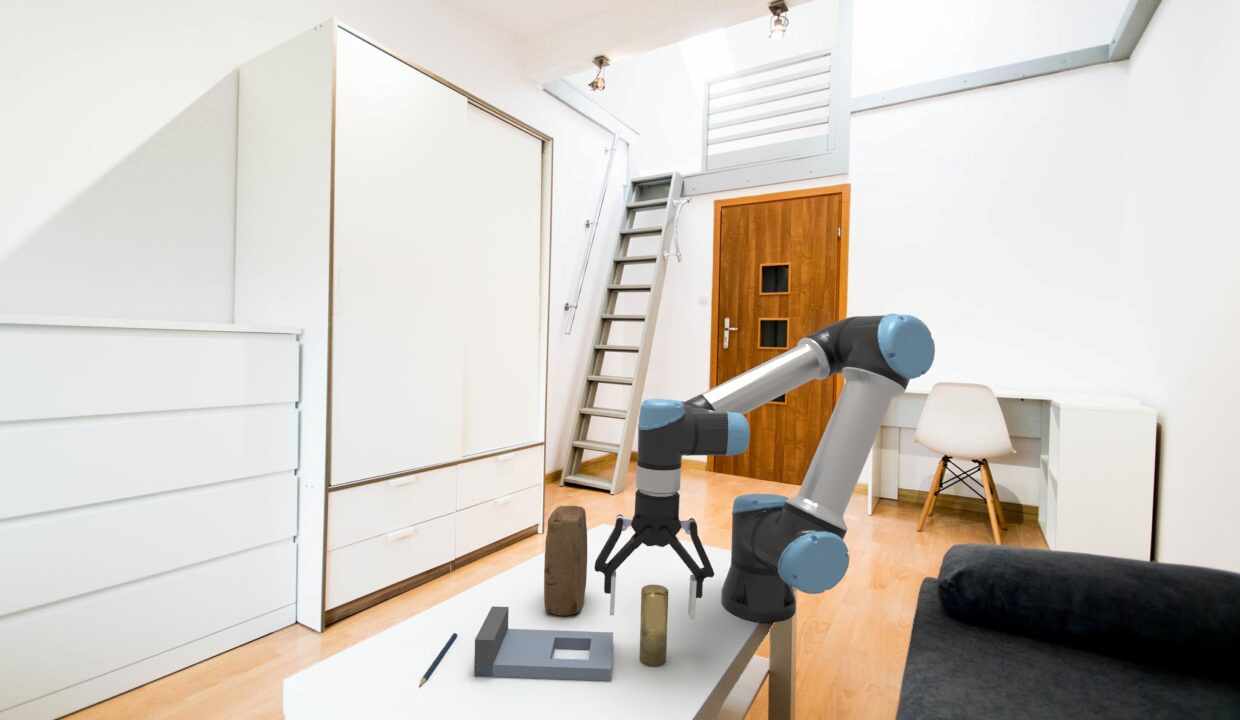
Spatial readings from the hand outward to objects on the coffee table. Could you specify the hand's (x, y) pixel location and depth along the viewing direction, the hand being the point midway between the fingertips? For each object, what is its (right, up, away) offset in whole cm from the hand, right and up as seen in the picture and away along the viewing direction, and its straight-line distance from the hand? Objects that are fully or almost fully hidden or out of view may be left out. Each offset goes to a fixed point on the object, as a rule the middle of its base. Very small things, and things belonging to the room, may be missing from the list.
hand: (651, 613), depth 93 cm
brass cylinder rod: (0, -8, 0) cm, 8 cm away
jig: (-18, -8, 0) cm, 19 cm away
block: (-17, -7, +19) cm, 26 cm away
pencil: (-36, -8, -1) cm, 37 cm away
